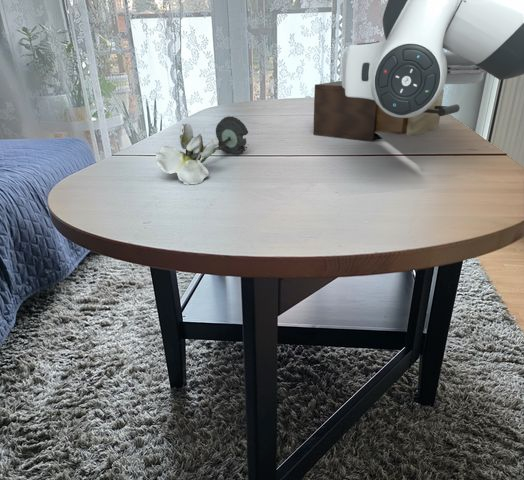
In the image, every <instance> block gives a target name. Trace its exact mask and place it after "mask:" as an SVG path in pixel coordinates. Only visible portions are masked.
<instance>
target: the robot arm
mask: <svg viewBox="0 0 524 480" xmlns="http://www.w3.org/2000/svg"><path fill="white" fill-rule="evenodd" d="M381 22H382V31H383V35H384V39H385V40H381V41H380V40H377V41H372V42H362V43H356V44H350V45H348V46H347V50H346V51H344V52H343V53H342V64H341V81H342V87H343V88H344V89H345V95H346V96H347V97H354V98H359V99H368V100H375V102H376V103H377V105H378V106H379V107H380V108H381V109H382V110H383V111H384V112H385V113H387V114H389V115H391V116H394V117H399V118H409V117H414V116H417V115H419V114H421V113H423V112H424V111H426V110H427V109H428V108H430V107H431V106H432V105H433V103H434V102H435V101H436V100H437V99H438V97H439V96H440V94H441V92H442V90H443V89H444V88H445V85H470V84H477V83H480V82H481V81H483V79H484V74H485V73H487V74H489V75H491V76H492V77H494V78H496V79H497V80H499V81H503V80H509V79H514V78H516V77H520V76H523V75H524V0H387V2H386V6H385V9H384V12H383V16H382V21H381ZM444 50H446V51H444Z"/></svg>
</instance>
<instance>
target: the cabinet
mask: <svg viewBox="0 0 524 480" xmlns="http://www.w3.org/2000/svg"><path fill="white" fill-rule="evenodd" d="M313 97H314V100H313V128H312V129H313V133H312V134H313V136H320V137H328V138H329V137H330V138H337V139H347V140H354V141H355V140H357V141H363V142H371V143H372V142H376V141H380V140H383V139H384V138H383V137H382V136H380V135H379V134H378V133H377V131H376V121H377V109H378V105H377V103H376V102H375V100H368V99H359V98H354V97H347V96H346V95H345V89H344V88H343V87H342V80H339V81H331V82H330V81H329V82H324V83H317V84H314V96H313ZM375 133H376V134H375Z"/></svg>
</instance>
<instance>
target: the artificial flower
mask: <svg viewBox="0 0 524 480" xmlns="http://www.w3.org/2000/svg"><path fill="white" fill-rule="evenodd" d="M248 134H249V130H248V128H247V127H246V125H245V124H244V123H243V122H242V121H241V120H240V119H239V118H237V117H235V116H230V115H228V116H225V117H223V118H222V119H221V120H220V121H218V123H217V125H216V126H215V137H216V138H214V139H212V140H211V141H210V142H208V143H207V144H205V145H204V141H203V136H202V134H201V133H199V134H197V136H194V131H193V128H192V125H191V123H182V124H181V127H180V132H179V137H178V140H179V144H180V147H181V149H183V150H185V152H184V151H181V150H178V149H177V148H176V147H173V146H169V145H164V146H161V148H160V150H159V151H158V152H157V153H155V162H156V164H157V165H158V167H159V168H160V170H162V172H164V173H166V174H170V175H171V174H176V175H177V178H178V180H179V181H181V182H183V185H187V186H189V185H198V184H201V183H203V181H204V180H205V179H206V178H207V177H209V176H210V175H209V170H208V168H207V167H206V166H205V165H204V164H203V163H204V162H205V161H206V160H207V159H208V158H209V157H210V156H212V155H213V154H215V153H216V152H217V151H218V150H219V151H222V152H223V153H224V154H227V155H229V154H231V155H237V156H238V155H242V154H244V152H246V150H247V149H248V146H249V143H247V138H246V137H245V136H247V135H248ZM246 145H247V146H246Z"/></svg>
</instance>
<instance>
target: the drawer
mask: <svg viewBox="0 0 524 480" xmlns="http://www.w3.org/2000/svg"><path fill="white" fill-rule="evenodd" d="M444 93H445V89H444V88H443V90H442V92H441V94H440V96H439V97H438V99H437V100H436V101H435V102H434V103H433V105H432V106H431V107H430V108H428V109H427V110H426V111H424V112H423V113H421V114H419V115H417V116H414V117H409V118H399V117H394V116H391V115H389V114H387V113H385V112H384V111H383V110H382V109H381V108H380V107H379V106H378V109H377V121H376V132H375V134H377V132H379V133H388V134H398V135H404V134H405V135H406V136H415V135H419V134H422V133H426V132H428V131H432V130H435V129H438V128H439V125H440V120H441V117H444V116H448V115H452V114H456V113H458V112H459V111H460V109H461V107H460V105H459V104H457V103H455V104H451V105H443V99H444Z"/></svg>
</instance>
